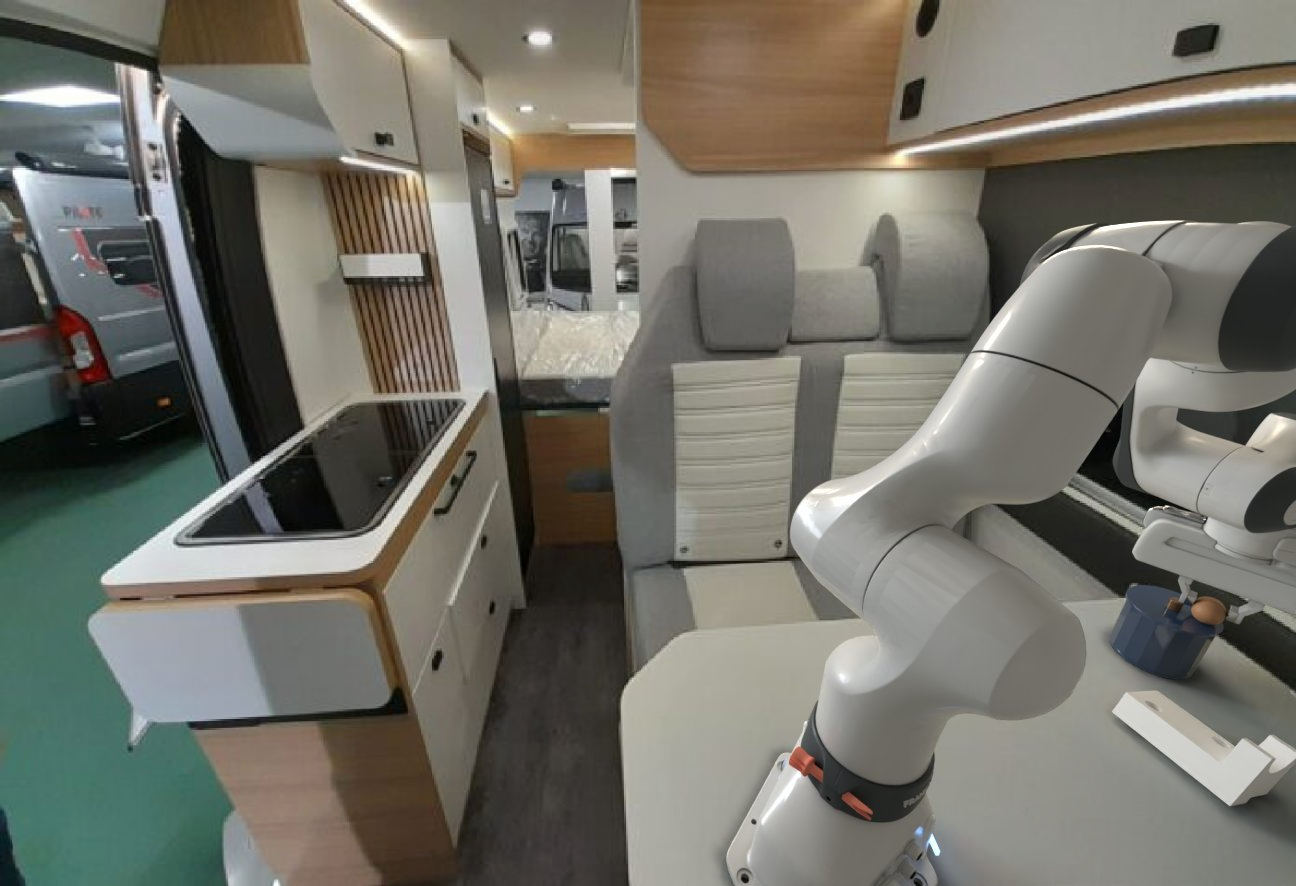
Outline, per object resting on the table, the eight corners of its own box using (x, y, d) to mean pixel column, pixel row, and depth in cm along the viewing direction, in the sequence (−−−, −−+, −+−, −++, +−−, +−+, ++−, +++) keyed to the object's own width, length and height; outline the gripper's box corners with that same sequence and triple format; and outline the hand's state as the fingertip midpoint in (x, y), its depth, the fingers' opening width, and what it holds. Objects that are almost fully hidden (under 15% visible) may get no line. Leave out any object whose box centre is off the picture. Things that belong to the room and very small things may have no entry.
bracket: (1261, 799, 64) (1303, 754, 61) (1229, 806, 61) (1271, 758, 59) (1142, 709, 75) (1173, 667, 73) (1111, 711, 73) (1142, 668, 70)
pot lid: (1217, 652, 73) (1225, 638, 72) (1117, 611, 81) (1124, 598, 79) (1222, 615, 80) (1230, 602, 79) (1130, 581, 87) (1136, 568, 86)
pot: (1189, 691, 77) (1215, 646, 74) (1102, 651, 84) (1123, 609, 80) (1196, 655, 83) (1220, 612, 80) (1115, 621, 90) (1134, 580, 86)
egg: (1218, 633, 75) (1229, 614, 74) (1185, 620, 77) (1195, 602, 76) (1220, 618, 78) (1231, 599, 77) (1189, 606, 80) (1198, 588, 79)
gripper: (1148, 508, 76) (1113, 585, 82) (1375, 575, 63) (1314, 663, 68) (1154, 493, 80) (1120, 568, 86) (1370, 554, 67) (1312, 638, 72)
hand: (1208, 611), depth 77 cm, fingers closed on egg, 3 cm apart
